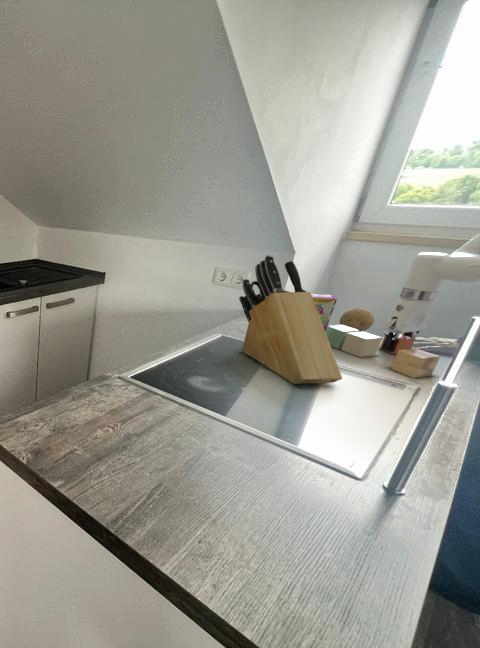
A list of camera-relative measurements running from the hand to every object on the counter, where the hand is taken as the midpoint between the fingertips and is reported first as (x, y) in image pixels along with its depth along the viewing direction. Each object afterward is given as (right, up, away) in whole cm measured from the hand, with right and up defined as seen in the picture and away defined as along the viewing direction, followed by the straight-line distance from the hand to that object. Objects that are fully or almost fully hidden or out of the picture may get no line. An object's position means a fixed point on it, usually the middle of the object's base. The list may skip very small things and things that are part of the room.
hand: (394, 349), depth 125 cm
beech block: (-9, -7, -14) cm, 18 cm away
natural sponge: (-2, +5, +14) cm, 15 cm away
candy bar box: (-23, +3, +10) cm, 25 cm away
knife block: (-42, -4, -5) cm, 43 cm away
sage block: (-13, +2, +6) cm, 15 cm away
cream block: (-12, -1, 0) cm, 12 cm away
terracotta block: (0, -1, 0) cm, 1 cm away
